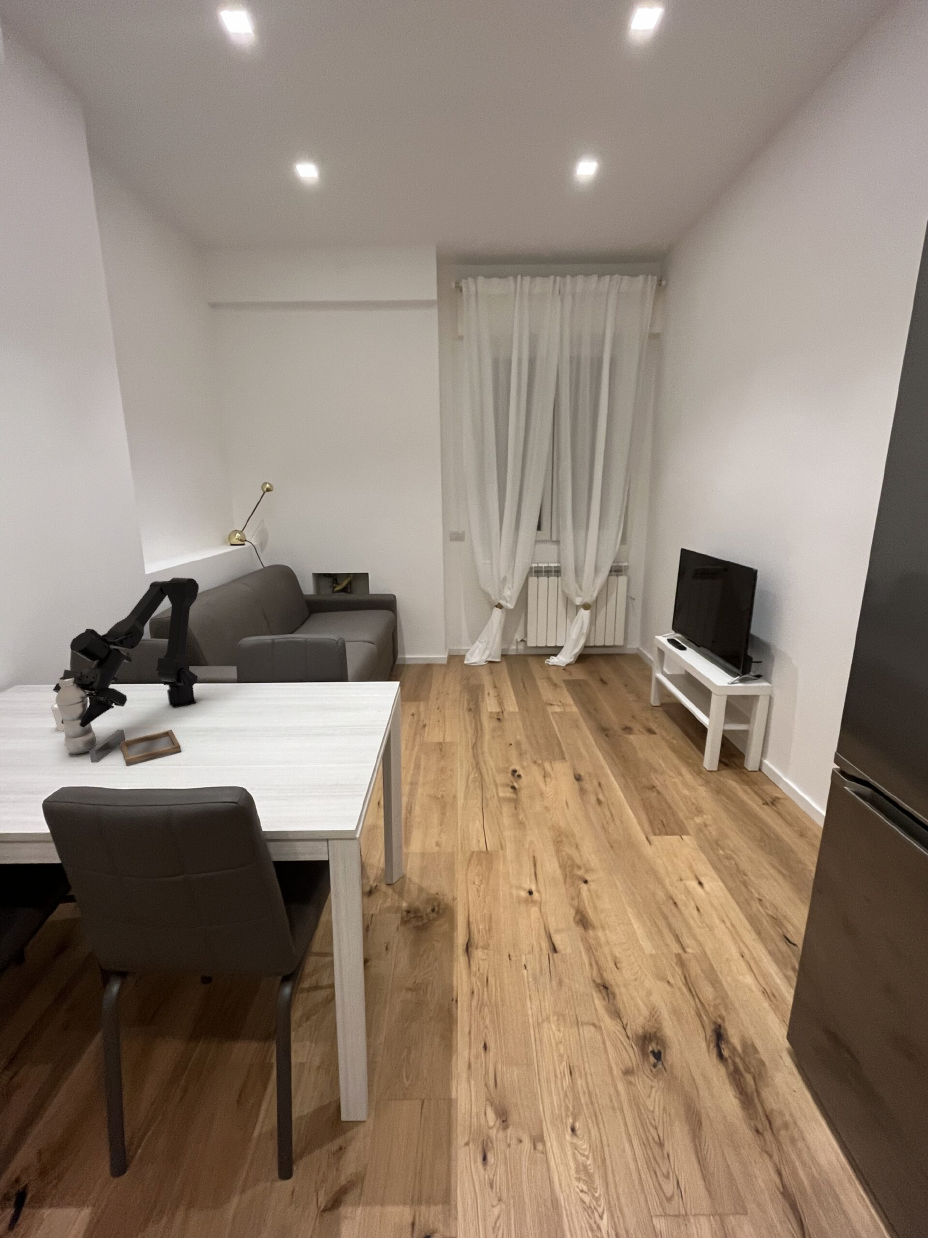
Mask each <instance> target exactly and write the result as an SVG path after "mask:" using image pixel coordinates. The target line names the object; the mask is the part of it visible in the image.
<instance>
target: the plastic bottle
mask: <svg viewBox="0 0 928 1238" xmlns="http://www.w3.org/2000/svg"><path fill="white" fill-rule="evenodd" d="M63 677H64V676H63V675H62V676H61V677H59V678H58V683H60V684H59V686H60V687H61V689H60V691H59V692H58V693H57V694H56V697H55V703H56V704H57V706H58V709H59V711H60V713H61V716H62V720H63V723H64V731H63V732H64V747H65V749H66V751H67V752H69V754H73V755H77V754H82V753H83V754H84V753H86V752H89V751H90V750H91V749H92V748H94V747H95V746H96V744H97V736H96V733H95V731H94V729H93V726H92V722H91V723H89V724H88V725H86V726H85V727H81V726H80V723H81V721H82V719H83V717H84V715H85V713H86V711H87V709H88V707H89V704H88V703H89V697H87V694H88V693H86V691H85V690H84V689H83V688H81V687H80V686H79V685H78V684H74V683H73V682H74V678H71V679H66V680H63Z"/></svg>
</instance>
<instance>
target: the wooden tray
mask: <svg viewBox="0 0 928 1238" xmlns="http://www.w3.org/2000/svg"><path fill="white" fill-rule="evenodd" d="M119 746H120V749H121V753H122V755H123V759H124V762H125V766H126V767H127V766H132V764H133V765H136V764H140V763H144V762H147V761H151V760H155V759H158V758H162V757H166V756H171V755H175V754H178V753H181V752H182V748H181V744H180V742H179V741H178V738H177V737H176V735H175V734H174V732H173V730H172V729H169V730H165V731H159V732H155V733H152V734H147V735H144V736H139V737H135V738H131V739H130V738H129V739H125V741H121V742H120V745H119Z"/></svg>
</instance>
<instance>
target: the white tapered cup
mask: <svg viewBox="0 0 928 1238" xmlns="http://www.w3.org/2000/svg"><path fill="white" fill-rule="evenodd" d="M50 709H51V713H52V716H53V719H54V721H55V725H56V727H57V728H56V729H57V730H58V731H60V732H65V731H64V724H62V723H61V722H62V716H61V713H60V711H59V709H58V706H57V704H56V702H55V703H53V704H51V705H50Z"/></svg>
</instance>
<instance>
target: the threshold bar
mask: <svg viewBox="0 0 928 1238" xmlns="http://www.w3.org/2000/svg"><path fill="white" fill-rule="evenodd" d="M121 741H126V735H125V730H124V729H117V730H116V731H114V732H113V733H112V734H111V735H109V736H108V737H106V738H104V739H103V740H102V741H101V742H99V743H98V744H97V745H95V747H94V748H92V749H91V750H89V751H88V752H89V758H90V762H91V763H97V762H99V761H101V760H102V759H103V758H104V757H106V756H107V755H108V754H109V753H111V752H112V751H113V750H115V749H116V748H117V747H119V746H121V745H120V742H121Z"/></svg>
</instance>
